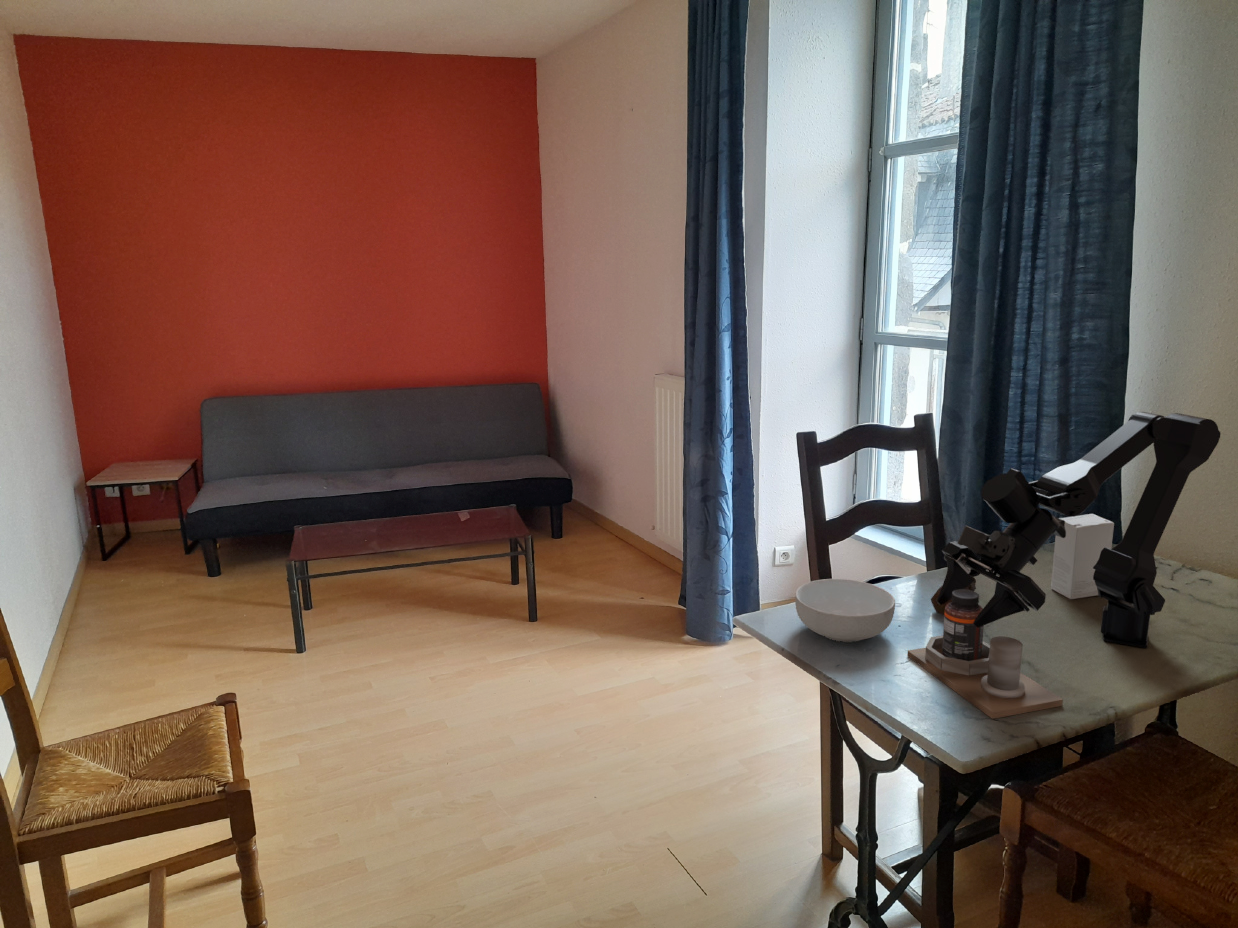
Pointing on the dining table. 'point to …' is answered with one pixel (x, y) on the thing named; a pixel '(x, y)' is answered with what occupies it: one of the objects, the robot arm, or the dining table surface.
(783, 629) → the dining table surface
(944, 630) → the supplement bottle
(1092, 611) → the dining table surface
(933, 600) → the bolt
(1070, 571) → the skincare box
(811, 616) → the cereal bowl
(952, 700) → the dining table surface
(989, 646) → the pin board
